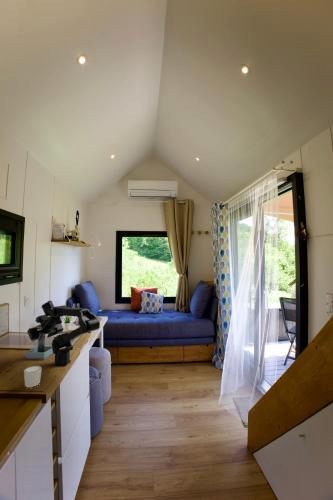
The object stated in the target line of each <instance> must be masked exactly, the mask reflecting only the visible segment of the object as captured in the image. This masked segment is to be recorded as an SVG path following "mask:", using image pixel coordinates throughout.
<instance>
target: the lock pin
mask: <svg viewBox="0 0 333 500" xmlns="http://www.w3.org/2000/svg"><path fill="white" fill-rule="evenodd" d="M37 346H38V351H37V352H40V353H44V352H46V351H45V346H46V334H41V335H39V338H38V339H37Z"/></svg>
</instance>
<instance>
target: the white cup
mask: <svg viewBox="0 0 333 500" xmlns="http://www.w3.org/2000/svg"><path fill="white" fill-rule="evenodd" d="M42 369H43V367H42V366H41V365H32V366H29V367H26V368H25V369H24V370H23V377H24V387H25V386H26V387H33V386H36V385H38V384H39V383H40V384H41V376H42V371H43V370H42ZM40 384H39V385H40Z"/></svg>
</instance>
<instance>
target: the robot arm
mask: <svg viewBox="0 0 333 500" xmlns="http://www.w3.org/2000/svg"><path fill="white" fill-rule="evenodd" d="M41 309H42V311H43V313H44V314H42V315H38V316H37V317H36V318H35V322H36V323H37V324H39V327H40V328H41V329H39V330H38V327H37V326H33V327H31V328H28V329H27V331H26V332H27V334H28V338H29V340H31V342H32V343H33V342H36V341H38V338H39V335H41V334H45V335H47V336H46V338H47V339H49V338H52V337H53V339H52V340H51V345H50V346H52V350H53V353H54V354H53V355H54V363H53V366H56V367H57V366H59V367H66V366H68V365H69V364H70V363H71V362H72V360H71V359H70V356H71V351H73V349H74V345H73V344H72V341H74V340H76V339H77V338H79V337H81V336H83V335H85V334H87V333H90V332H95V331H98V330H99V329H100V326H101V322H100V319H98V317H97V316H96V315H95V314H94V313H93V312H92V311H90V310H89V309H88V308H87V307H69V306H68V305H65V304H64V305H63V304H62V305H57V306H55V305H54V303H53V301H52V300H48V301H47V302H45V303H43V304H42V305H41ZM61 317H76V318H77V319H78V325H79V326H78V327H77V328H75V329H73V330H72V331H70V332H64V326H63V320H62V318H61ZM83 317H85V318H87V319H85V320H84V318H83ZM63 332H64V333H63Z"/></svg>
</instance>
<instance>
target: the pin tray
mask: <svg viewBox="0 0 333 500" xmlns="http://www.w3.org/2000/svg"><path fill="white" fill-rule="evenodd" d="M37 351H38V345H37V346H35V347H32V348H31V349H29V350H27V351H25V359H27V360H42V361H44V360H46V359H48V358H49V357H51V356H53V355H55V354H54V353H53V350H52V345H45V351H46V352H44V353H40V352H37Z"/></svg>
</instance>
